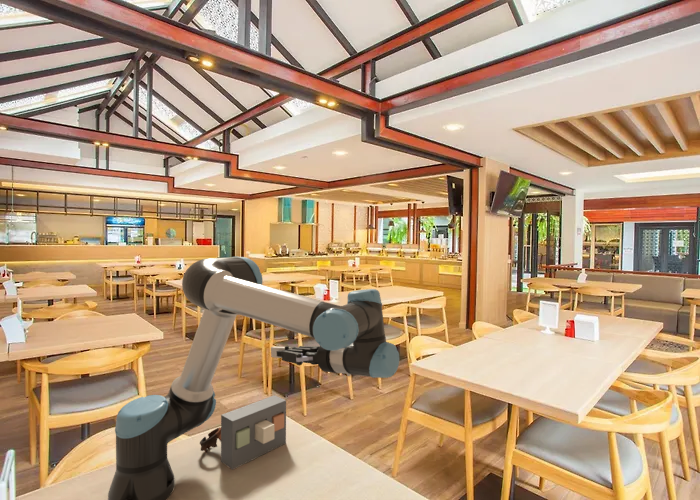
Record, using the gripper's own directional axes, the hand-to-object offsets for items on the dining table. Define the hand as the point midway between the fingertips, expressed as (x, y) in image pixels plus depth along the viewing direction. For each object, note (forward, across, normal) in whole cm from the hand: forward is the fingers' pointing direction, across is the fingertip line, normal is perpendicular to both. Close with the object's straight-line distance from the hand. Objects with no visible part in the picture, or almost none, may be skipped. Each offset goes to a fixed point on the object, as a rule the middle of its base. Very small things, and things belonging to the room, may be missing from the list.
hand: (273, 351), depth 108 cm
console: (+18, +6, -32) cm, 37 cm away
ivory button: (+12, +5, -27) cm, 30 cm away
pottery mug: (+26, 0, -32) cm, 41 cm away
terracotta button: (+15, +12, -27) cm, 33 cm away
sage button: (+16, -1, -27) cm, 31 cm away
